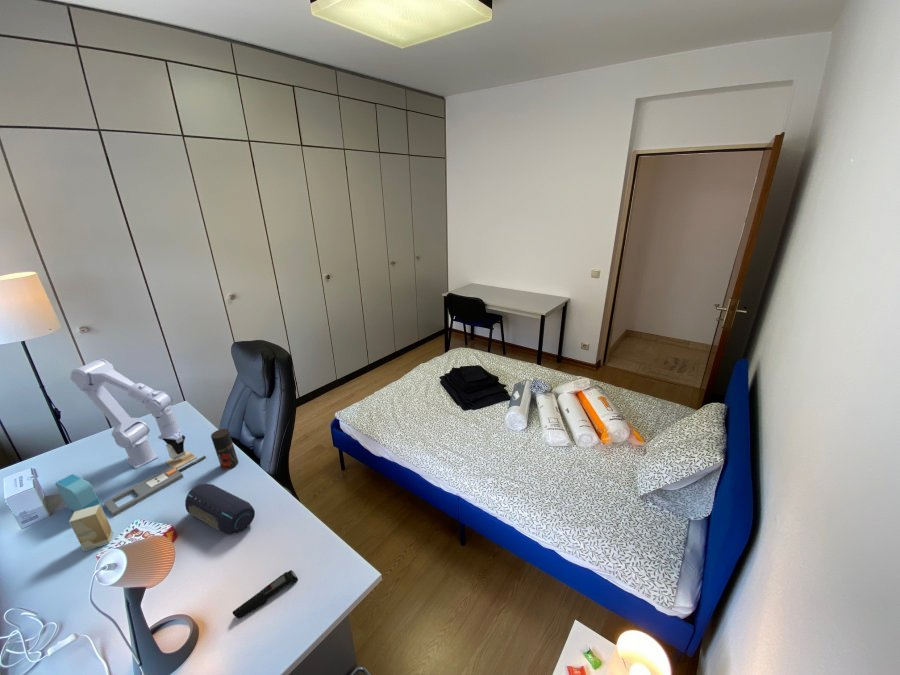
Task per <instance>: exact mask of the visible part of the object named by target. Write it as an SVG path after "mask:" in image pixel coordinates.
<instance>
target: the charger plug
mask: <svg viewBox="0 0 900 675" xmlns="http://www.w3.org/2000/svg"><path fill="white" fill-rule="evenodd" d="M165 447H166V450H167V452H168V455H169V458H170V459H173V460H174V461H176V460H178V459H180V458H182V457H184V456H186V453H185V450H184V452H182V453H181V454H179V455H178V454H177V453H176V452H175V451H174V449H173V448H172V446H171V445H169V444H166V445H165Z"/></svg>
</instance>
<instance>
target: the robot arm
mask: <svg viewBox="0 0 900 675" xmlns="http://www.w3.org/2000/svg"><path fill="white" fill-rule="evenodd" d="M70 380H72V382H73V383H74V384H75V385H76V387H77V388H78V389H79V390H80V391H81V392H84V394H85V395H86V397H88V398H89V399H90V400H91V402H92V403H93V404H94V405H95V406H96V407H97V408H98V409H99V410H100V412H101V413H102V414H103V415H104V416H105V417H106V419H107V420H108V421H109V422H110V423H111V424H112V425H113V430H112V431H111V436H112V437H113V439H114V441H115V443H116V445H117V446H118V447H120V448H122V449H125V452H126V454H127V456H128V458H127V459H126V461H127V463H129V465H131V467H133V468H134V469H138V468H140V467H142V466H145V465H147V464H148V463H151V462H152V461H154V460H156V459H158V458H159V455H158V454H156V453H155V452H154V450H153V448H152V446H151V443H150V441H149V439H148V437H149V433H150V431H151V430H150V426H149V425H148V423H146V422H144V421H143V420H142V419H141V418H139V417H131V416H130V415H129V414H128V413H127V412H126V411H125V409H124V408H123V407H122V406H121V405H120V404H119V403H118V401H117V400H116V399H115V398H114V397H113V396H112V395H111V393H110V392H109V390H107V388H106V387H104V383H107V384H109V385H112V386H114V387H117V388H119V389H121V390H124V391H127V396H129V397H130V398H132V399H134V400H136V402H137V401H138V402H140V403H141V404H143V405H145V409H146V410H147V411H149V413H150V414H151V416H153V417H154V419H155V421H156V424H157V427H158V430H159V432H160V435H159V436H158V439H159V440H161V441H163V442H164V443H165V444H166V445H168V444H169V445H171V446H172V448H173V449H174V451H175V452H176V453H177V454H178V455H179V454H181V453H182V452H184V451H185V447H184V446H185V445H184V444H185V439H186V436H185V435H182V431H181V428H180V427H179V424H178V421H177V419H176V416H175V414H174V411H173V408H172V403H173V402H174V401H173V400H174V399H173V396H172V395H171V394H170V393H168V392H167V391H160V390H155V389H153V388H151V387H150V386H148V385H146V384H144V383H143V382H136V383H135V382H134V381H132V380H131V379H129V378H127V377H125V375H123V374H121V373H119V372H118V371H116V370H115V368H114V365H113V364H112V363H110V362H109V361H107V359H103V358H96V359H95V360H93V361H91V362H89V363H87V364H84V365H82V366H80V367H77V368H74V369H72V371H71V372H70Z"/></svg>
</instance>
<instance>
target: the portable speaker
mask: <svg viewBox="0 0 900 675" xmlns="http://www.w3.org/2000/svg"><path fill="white" fill-rule="evenodd" d="M184 502H185V503H184V504H185V509H186V512H187V513H188V514H190V515H192V516H193V517H195V518H196V519H198V520H201V521H202V522H203V523H206V524H207V525H209V526H211V527H212V528H214V529H216V530H218V531H220V532H221V533H222V534H224V535H229V536H231V535H236V534H239V533H241V532H243V531H245V530H246V529H247V528H248V527H249V526H250V525H251V524H252V522H253V520H254V518H255V515H256V513H255V508H254V507H253V505H251V503H249V501H246V500H244V499H242V498H241V497H239V496H237V495H234V494H232V493H230V492H229V491H227V490H224V489H223V488H220V487H218V486H217V485H215V484H212V483H206V482H203V483H199V484H197V485H195V486H193V487H192V488H191V489H190V490H189V492H188V493H187V494H186V497H185V501H184Z"/></svg>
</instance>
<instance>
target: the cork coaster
mask: <svg viewBox="0 0 900 675" xmlns="http://www.w3.org/2000/svg"><path fill="white" fill-rule="evenodd" d="M184 451H185V450H184ZM185 453H186V456H184V457H182V458H180V459H178V460H176V461H174V460H173V459H172V458H170V459H168V460H167V461H165V464H167V465H168V466H169V467H170V466H173V467H174V468H175V469H177V470H178V469H180V468H182V467H184V466H186V465H188V464H189V463H190V462H193V461H195V460H197V458H198V457H197V456H196V455H195V454H193V453H192V452H190V451H189V450H186V451H185Z"/></svg>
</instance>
